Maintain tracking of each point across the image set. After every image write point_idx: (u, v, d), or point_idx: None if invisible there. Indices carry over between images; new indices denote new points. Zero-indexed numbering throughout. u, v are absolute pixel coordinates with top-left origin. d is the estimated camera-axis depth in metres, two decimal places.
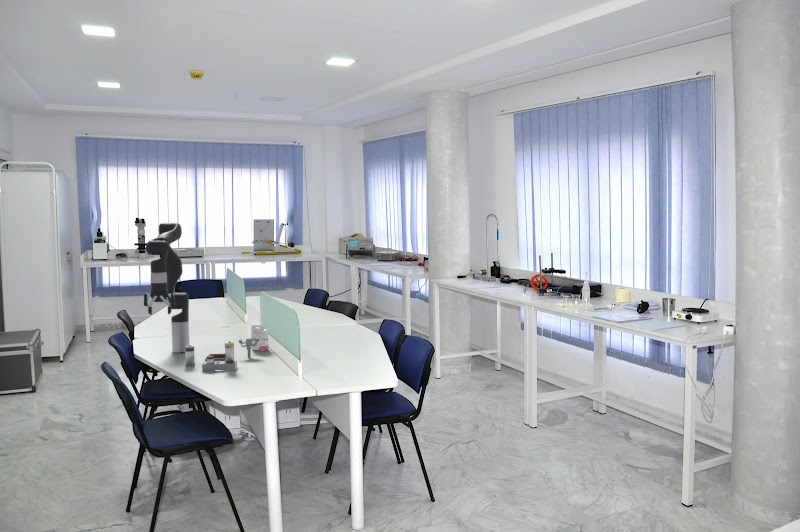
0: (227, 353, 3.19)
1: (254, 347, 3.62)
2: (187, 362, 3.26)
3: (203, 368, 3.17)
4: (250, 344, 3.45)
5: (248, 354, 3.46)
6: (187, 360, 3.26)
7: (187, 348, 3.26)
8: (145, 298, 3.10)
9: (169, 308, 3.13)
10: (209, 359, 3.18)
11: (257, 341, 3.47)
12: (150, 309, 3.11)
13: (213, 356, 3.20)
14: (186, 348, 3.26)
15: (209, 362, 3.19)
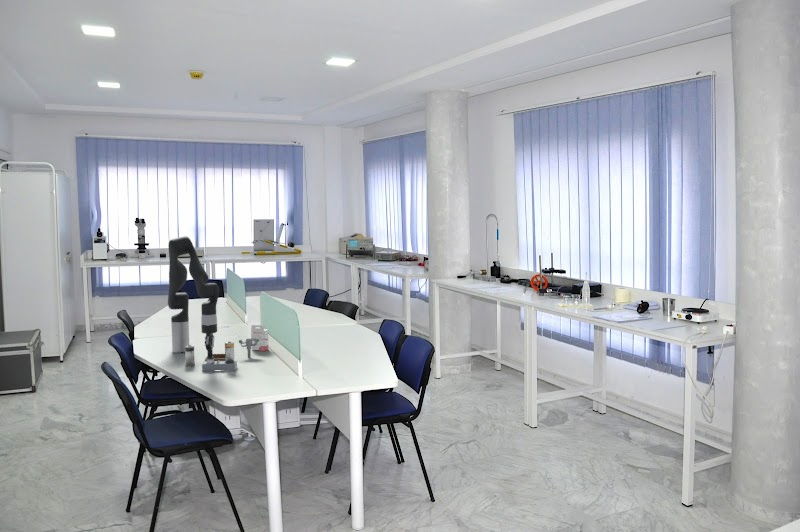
0: (227, 353, 3.19)
1: (254, 347, 3.62)
2: (187, 362, 3.26)
3: (203, 368, 3.17)
4: (250, 344, 3.45)
5: (248, 354, 3.46)
6: (187, 360, 3.26)
7: (187, 348, 3.26)
8: (210, 344, 3.15)
9: None
10: (209, 360, 3.18)
11: (257, 341, 3.47)
12: (212, 352, 3.19)
13: (213, 356, 3.20)
14: (186, 348, 3.26)
15: (209, 362, 3.19)
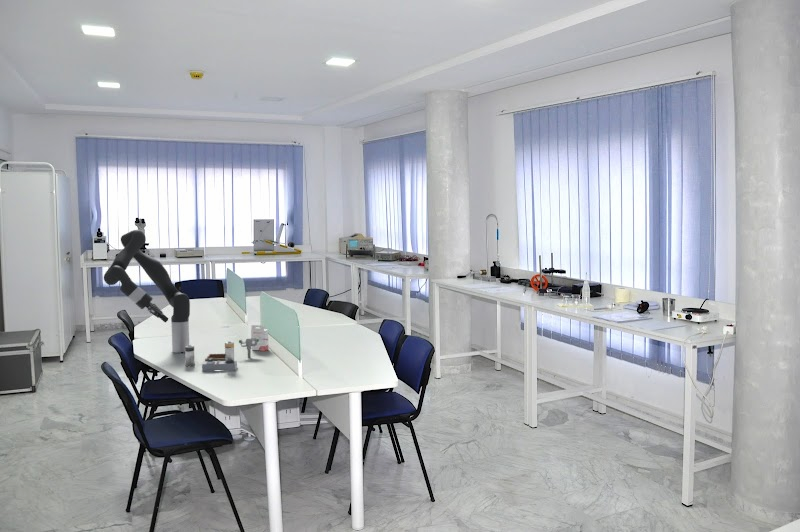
0: (227, 353, 3.19)
1: (254, 347, 3.62)
2: (187, 362, 3.26)
3: (203, 368, 3.17)
4: (250, 344, 3.45)
5: (248, 354, 3.46)
6: (187, 360, 3.26)
7: (187, 348, 3.26)
8: (156, 310, 3.17)
9: (163, 315, 3.24)
10: (209, 362, 3.18)
11: (257, 341, 3.47)
12: (164, 316, 3.22)
13: (213, 358, 3.21)
14: (186, 348, 3.26)
15: None
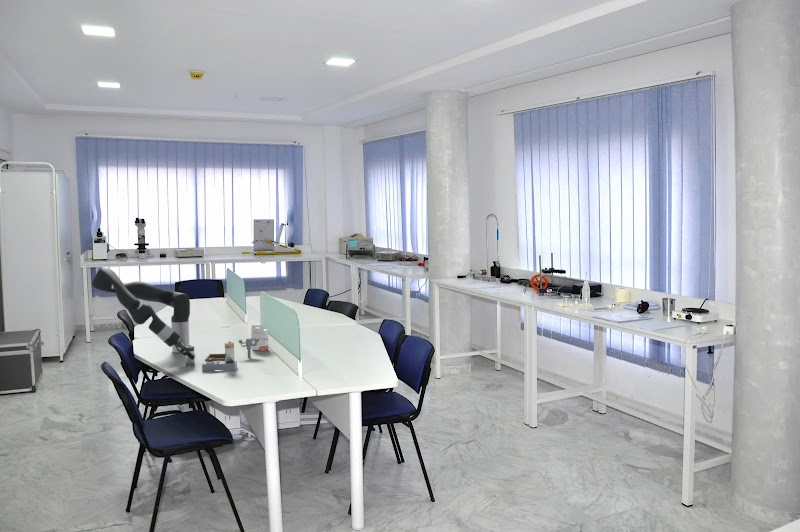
0: (227, 353, 3.19)
1: (254, 347, 3.62)
2: (187, 362, 3.26)
3: (203, 368, 3.17)
4: (250, 344, 3.45)
5: (248, 354, 3.46)
6: (187, 360, 3.26)
7: (187, 348, 3.26)
8: (183, 347, 3.22)
9: None
10: (209, 362, 3.18)
11: (257, 341, 3.47)
12: None
13: (213, 358, 3.21)
14: None
15: None
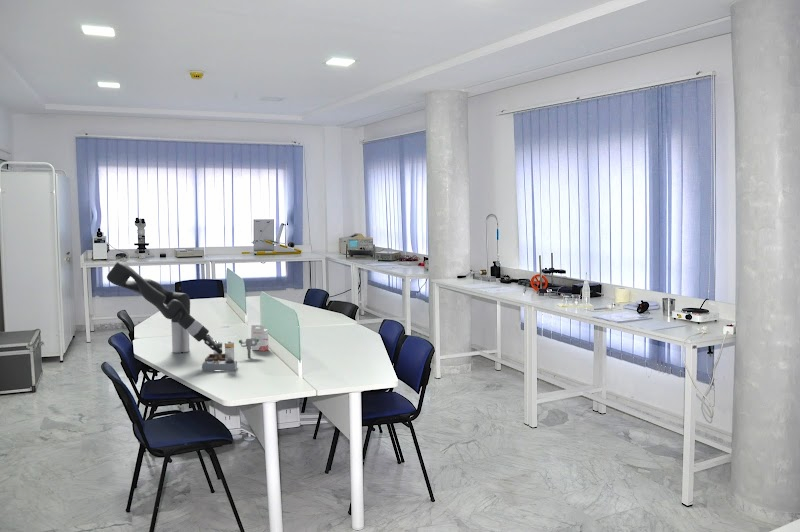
0: (227, 353, 3.19)
1: (254, 347, 3.62)
2: (215, 358, 3.32)
3: (203, 368, 3.17)
4: (250, 344, 3.45)
5: (248, 354, 3.46)
6: (215, 356, 3.32)
7: (215, 344, 3.31)
8: (211, 341, 3.26)
9: None
10: (209, 362, 3.18)
11: (257, 341, 3.47)
12: (218, 348, 3.30)
13: (213, 358, 3.21)
14: None
15: None
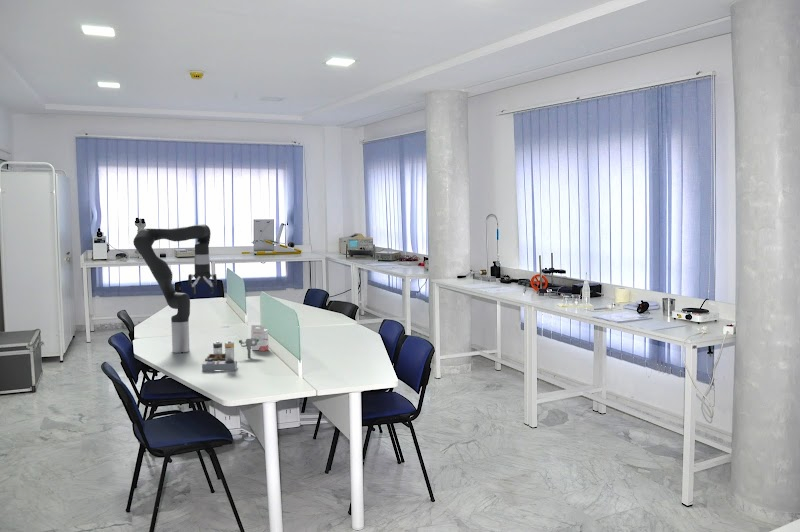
0: (227, 353, 3.19)
1: (254, 347, 3.62)
2: (215, 358, 3.32)
3: (203, 368, 3.17)
4: (250, 344, 3.45)
5: (248, 354, 3.46)
6: (215, 356, 3.32)
7: (215, 344, 3.31)
8: None
9: None
10: (209, 362, 3.18)
11: (257, 341, 3.47)
12: None
13: (213, 358, 3.21)
14: (214, 344, 3.31)
15: None
